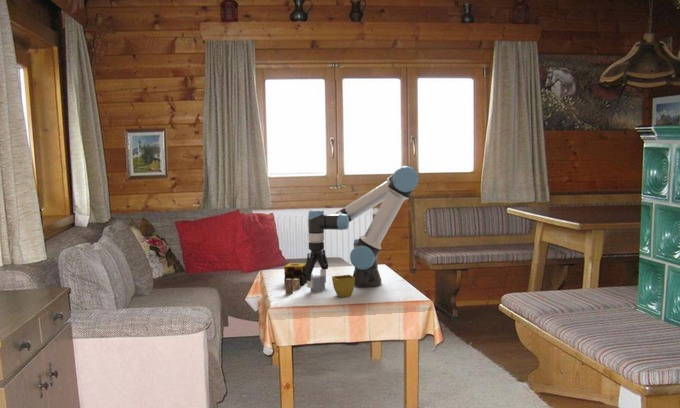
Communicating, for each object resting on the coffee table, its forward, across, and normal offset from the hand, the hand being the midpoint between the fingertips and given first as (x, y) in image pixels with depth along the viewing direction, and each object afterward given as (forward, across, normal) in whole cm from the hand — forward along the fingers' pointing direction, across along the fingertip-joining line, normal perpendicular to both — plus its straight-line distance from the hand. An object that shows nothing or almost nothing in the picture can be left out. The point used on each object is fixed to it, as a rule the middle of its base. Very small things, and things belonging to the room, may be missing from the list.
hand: (316, 284), depth 310 cm
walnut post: (+3, +12, -8) cm, 15 cm away
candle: (+3, -10, -18) cm, 20 cm away
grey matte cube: (+2, 0, 0) cm, 3 cm away
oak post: (+3, +2, -10) cm, 11 cm away
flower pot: (+2, +8, +18) cm, 20 cm away
